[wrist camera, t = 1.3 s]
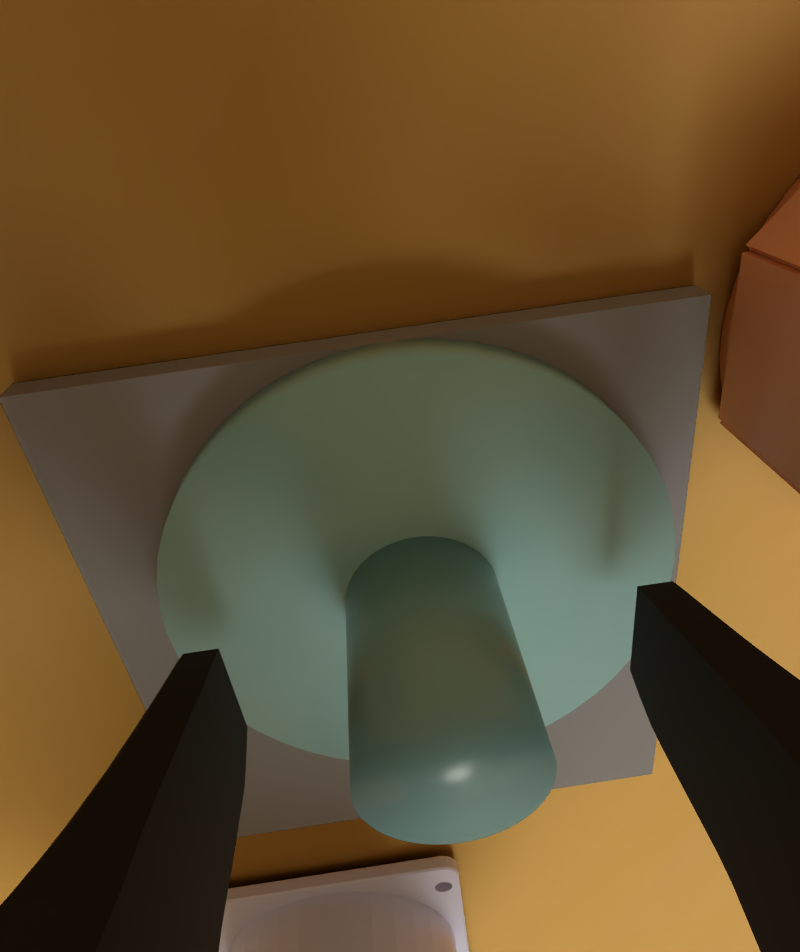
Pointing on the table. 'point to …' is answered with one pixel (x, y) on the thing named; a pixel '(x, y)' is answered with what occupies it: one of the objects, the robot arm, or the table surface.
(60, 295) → the table surface
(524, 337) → the mat
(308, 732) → the lid
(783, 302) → the bowl
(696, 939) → the table surface
